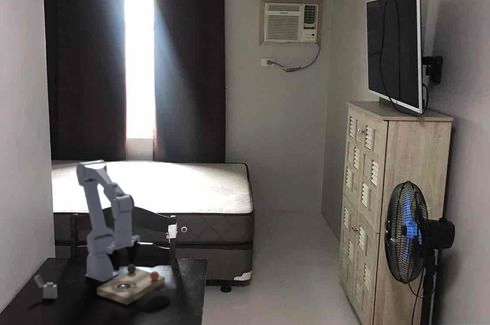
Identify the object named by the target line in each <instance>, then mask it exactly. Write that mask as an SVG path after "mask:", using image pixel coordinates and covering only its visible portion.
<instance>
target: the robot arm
mask: <svg viewBox="0 0 490 325" xmlns="http://www.w3.org/2000/svg"><path fill="white" fill-rule="evenodd" d="M75 173H76V179H77V182H78V186H80V187H82V188H83V191H84V192H83V193H84V195H85V200H86V206H87V210H88V215H89V219H90V223H91V228H92V230H91V231H90V233H89V234H88V235H87V236H86V242H87V245H86V248H87V252H88V253H89V254H88V255H87V257H86V272H87V273H86V274H85V277H88V278H91V279H93V280H97V281H99V282H100V281H101V282H102V283H103V282H106V281H108V280H110V279H112V278H114V277H116V276H119V271H120V268H121V267H120V266H121V264H120V262H121V257H122V255H123V254H122V253H121V252H119V251H118V250H120V249H123V248H126V252H127V261H128V263H130V264H133V265H134V264H135V262H136V257H137V254H138V251H139V250H140V248H141V243H140V241H141V238H140V235H137V234H135V235H133V232H132V231H133V230H132V229H133V228H132V226H133V225H132V224H133V222H132V212H133V211H134V210H135V199H134V197H133V196H132V195H131V194H130V193H125V192H124V190H123V188H121V187H120V185H119V184H118V183H117V182H115V181H114V182H113V181H112V179H111V177H110V176H109V174H108V167H107V164H106V162H105V160H103V159H99V160H98V159H97V160H92V161H91V160H90V161H83V162H81V161H80V162H78V163H77V165H76V169H75ZM99 185H100V186H101V187H102V188H103V190H102V192H103V194H104V196H105V197H106V199H107V200H108V201H109V203H110V209H111V212H112V217H113V218H114V221H113V222H114V230H112V229H111V228H109V227H107V225H106V220H105V215H104V212H103V207H102V203H101V197H100V193H99V189H98V186H99Z"/></svg>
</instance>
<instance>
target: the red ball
mask: <svg viewBox="0 0 490 325" xmlns="http://www.w3.org/2000/svg"><path fill="white" fill-rule="evenodd" d="M150 273H151V274H150V278H151V279H152V280H157V279H158V278H159V275H160V273H159V272H157V270H156V271H155V270H154V271H151V272H150Z"/></svg>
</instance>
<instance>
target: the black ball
mask: <svg viewBox="0 0 490 325" xmlns="http://www.w3.org/2000/svg"><path fill="white" fill-rule="evenodd" d="M136 268H137V267H136V265H135V264H134V263H133V264H132V263H130V264H129V265H127V268H126V270H127V272H129V273H134V272H135V270H136Z"/></svg>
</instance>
